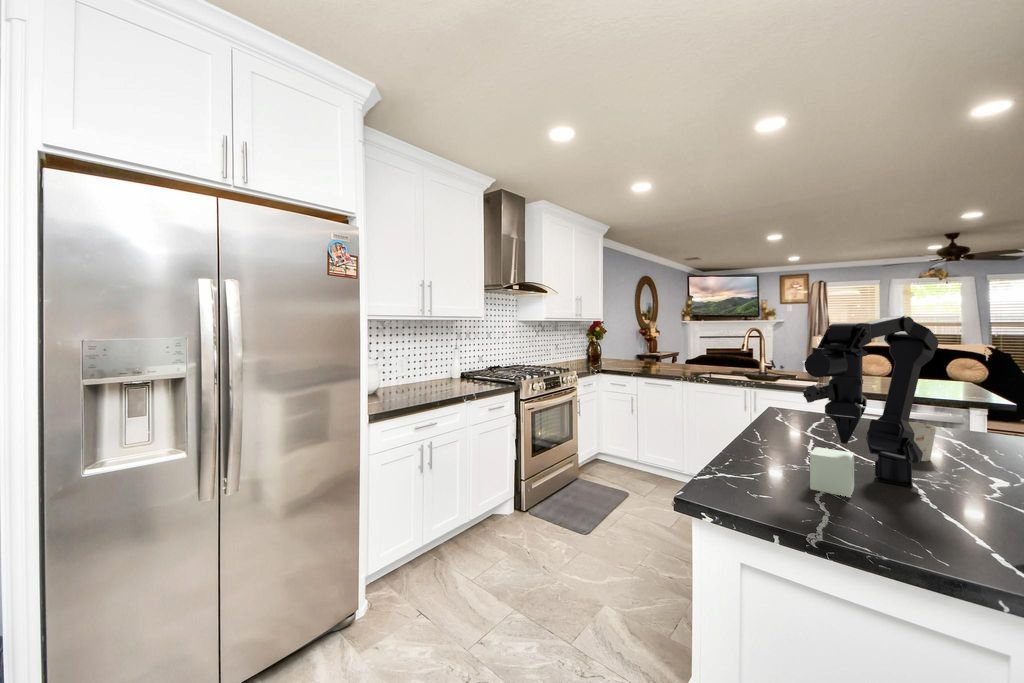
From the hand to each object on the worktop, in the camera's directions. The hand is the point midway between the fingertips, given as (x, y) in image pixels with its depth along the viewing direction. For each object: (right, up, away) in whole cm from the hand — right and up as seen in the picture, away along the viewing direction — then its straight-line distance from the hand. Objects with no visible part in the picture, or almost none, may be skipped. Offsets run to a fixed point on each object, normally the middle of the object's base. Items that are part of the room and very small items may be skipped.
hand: (846, 439), depth 97 cm
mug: (+37, -11, +23) cm, 45 cm away
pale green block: (-2, -13, +2) cm, 13 cm away
